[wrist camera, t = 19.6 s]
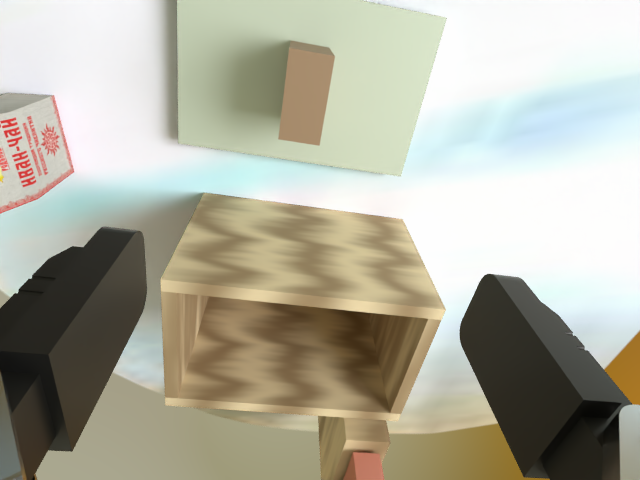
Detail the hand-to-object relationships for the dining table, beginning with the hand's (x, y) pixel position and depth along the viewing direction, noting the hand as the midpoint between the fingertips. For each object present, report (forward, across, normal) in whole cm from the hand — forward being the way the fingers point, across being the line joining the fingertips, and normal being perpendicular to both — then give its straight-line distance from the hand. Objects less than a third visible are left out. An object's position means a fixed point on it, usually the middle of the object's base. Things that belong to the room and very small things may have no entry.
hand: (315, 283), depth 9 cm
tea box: (+28, +22, +8) cm, 37 cm away
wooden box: (+28, -2, +25) cm, 37 cm away
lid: (+28, 0, 0) cm, 28 cm away
